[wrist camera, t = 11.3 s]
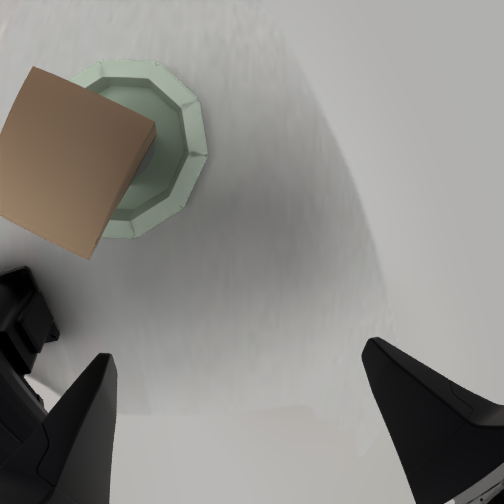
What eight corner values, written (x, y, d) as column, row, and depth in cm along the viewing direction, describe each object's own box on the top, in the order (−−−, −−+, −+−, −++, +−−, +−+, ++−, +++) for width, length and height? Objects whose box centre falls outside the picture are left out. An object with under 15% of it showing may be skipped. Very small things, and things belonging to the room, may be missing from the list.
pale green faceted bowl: (73, 240, 18) (60, 259, 14) (42, 97, 13) (21, 90, 10) (208, 204, 20) (219, 217, 17) (184, 57, 16) (190, 41, 12)
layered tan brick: (129, 185, 17) (89, 260, 6) (82, 162, 15) (-22, 203, 5) (156, 135, 16) (155, 122, 6) (108, 111, 15) (33, 66, 4)
